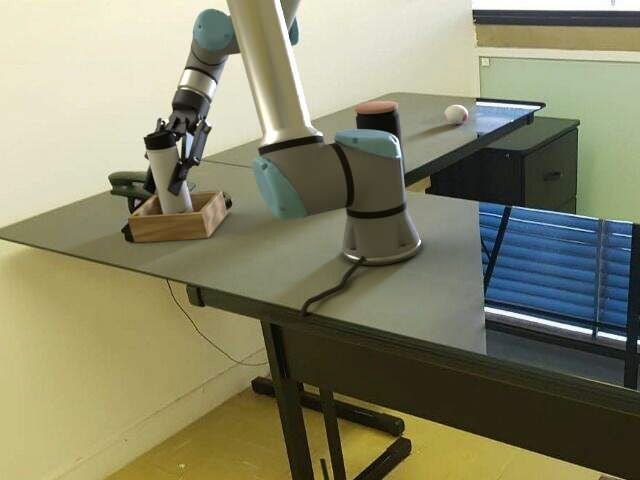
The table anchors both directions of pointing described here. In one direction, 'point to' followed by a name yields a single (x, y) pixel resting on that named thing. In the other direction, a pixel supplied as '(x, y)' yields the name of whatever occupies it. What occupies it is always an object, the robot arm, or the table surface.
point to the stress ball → (456, 114)
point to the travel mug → (166, 171)
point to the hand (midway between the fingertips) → (160, 192)
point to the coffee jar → (380, 119)
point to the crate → (178, 219)
